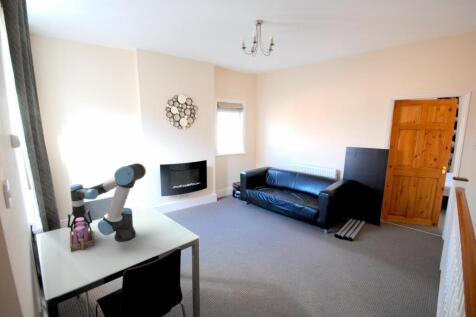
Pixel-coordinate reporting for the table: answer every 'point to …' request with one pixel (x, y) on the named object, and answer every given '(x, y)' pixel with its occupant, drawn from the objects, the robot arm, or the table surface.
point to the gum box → (80, 230)
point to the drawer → (82, 242)
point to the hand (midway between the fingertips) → (81, 233)
